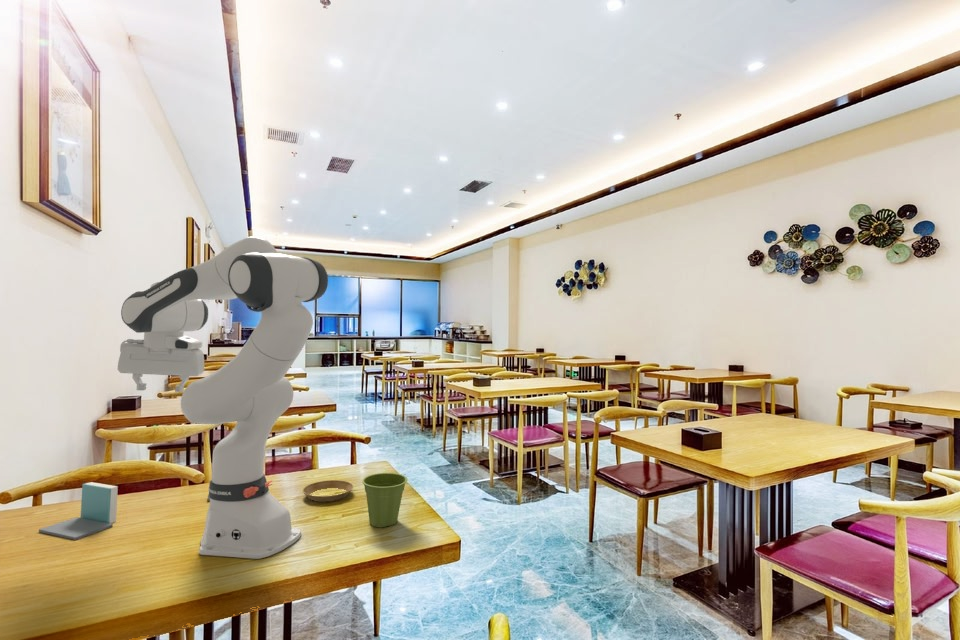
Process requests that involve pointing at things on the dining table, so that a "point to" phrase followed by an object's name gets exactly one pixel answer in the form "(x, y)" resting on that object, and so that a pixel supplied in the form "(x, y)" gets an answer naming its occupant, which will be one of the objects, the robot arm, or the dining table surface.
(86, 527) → the slate board
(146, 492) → the dining table surface
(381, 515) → the plant pot
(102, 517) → the tile
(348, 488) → the plant saucer
